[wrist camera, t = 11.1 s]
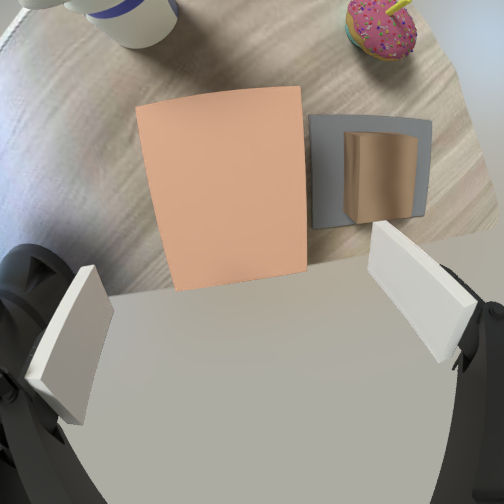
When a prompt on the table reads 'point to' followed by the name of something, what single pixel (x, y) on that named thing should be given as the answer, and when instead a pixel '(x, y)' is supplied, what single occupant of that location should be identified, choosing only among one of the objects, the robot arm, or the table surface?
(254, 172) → the lid
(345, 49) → the table surface
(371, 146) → the brown wooden block
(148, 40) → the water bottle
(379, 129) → the mat
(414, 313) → the robot arm
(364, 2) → the cupcake
